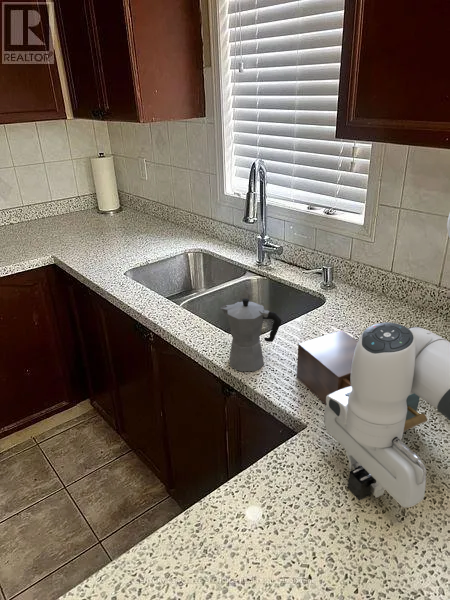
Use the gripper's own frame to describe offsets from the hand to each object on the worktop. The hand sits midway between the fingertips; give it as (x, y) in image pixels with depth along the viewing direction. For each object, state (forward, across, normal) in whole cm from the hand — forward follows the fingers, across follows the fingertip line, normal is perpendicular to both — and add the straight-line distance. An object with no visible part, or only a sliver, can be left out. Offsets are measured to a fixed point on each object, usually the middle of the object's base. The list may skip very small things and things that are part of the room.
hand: (365, 481), depth 77 cm
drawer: (+1, +12, -14) cm, 19 cm away
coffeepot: (+2, +43, -1) cm, 43 cm away
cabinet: (+2, +25, -14) cm, 29 cm away
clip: (+2, 0, 0) cm, 2 cm away
